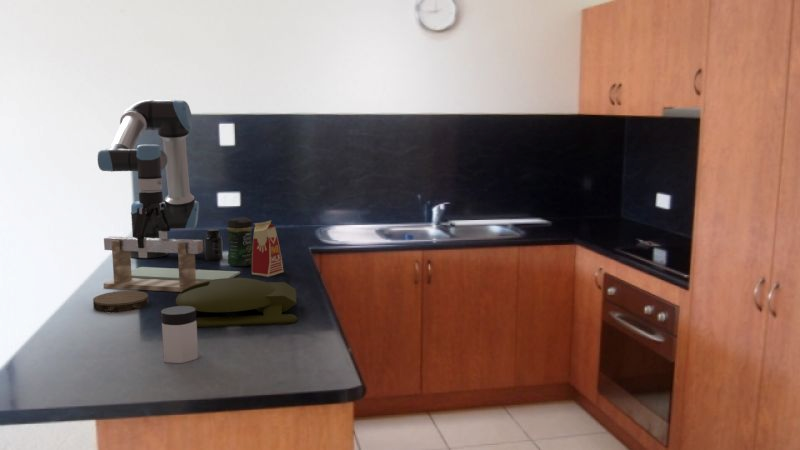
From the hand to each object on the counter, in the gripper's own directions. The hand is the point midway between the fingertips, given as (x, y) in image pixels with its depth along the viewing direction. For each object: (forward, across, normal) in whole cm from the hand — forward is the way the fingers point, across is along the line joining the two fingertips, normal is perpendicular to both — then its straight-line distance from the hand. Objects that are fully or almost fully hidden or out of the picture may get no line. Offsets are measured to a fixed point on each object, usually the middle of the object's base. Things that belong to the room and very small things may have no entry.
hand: (153, 253), depth 248 cm
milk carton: (+12, +28, -29) cm, 42 cm away
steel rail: (-1, 0, 0) cm, 1 cm away
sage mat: (+12, +18, 0) cm, 21 cm away
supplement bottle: (+12, +48, +1) cm, 49 cm away
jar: (+12, -65, -43) cm, 79 cm away
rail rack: (+12, 0, 0) cm, 12 cm away
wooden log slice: (+12, -24, -2) cm, 27 cm away
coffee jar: (+12, +40, -14) cm, 44 cm away
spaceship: (+12, -23, -40) cm, 48 cm away
